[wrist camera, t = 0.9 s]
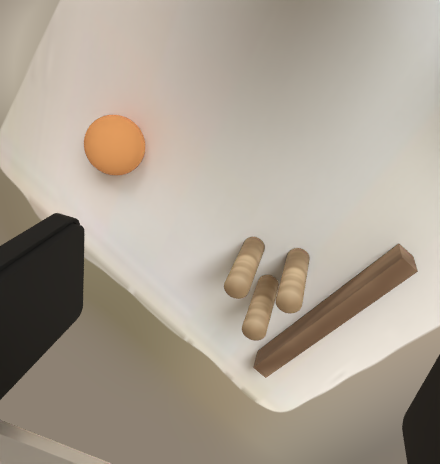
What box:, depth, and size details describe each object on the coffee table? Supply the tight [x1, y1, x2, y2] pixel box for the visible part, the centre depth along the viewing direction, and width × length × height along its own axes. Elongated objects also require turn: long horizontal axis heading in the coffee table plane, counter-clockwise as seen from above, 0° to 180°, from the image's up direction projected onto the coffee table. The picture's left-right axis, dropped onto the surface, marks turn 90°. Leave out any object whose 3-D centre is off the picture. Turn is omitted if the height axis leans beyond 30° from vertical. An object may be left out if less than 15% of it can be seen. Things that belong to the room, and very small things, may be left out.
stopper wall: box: [253, 244, 418, 378], centre depth 45 cm, size 2×22×3 cm, turn 142°
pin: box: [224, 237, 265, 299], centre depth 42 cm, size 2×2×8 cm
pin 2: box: [276, 248, 309, 313], centre depth 41 cm, size 2×2×8 cm
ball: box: [84, 115, 145, 175], centre depth 41 cm, size 6×6×6 cm
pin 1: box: [242, 275, 279, 340], centre depth 43 cm, size 2×2×8 cm
